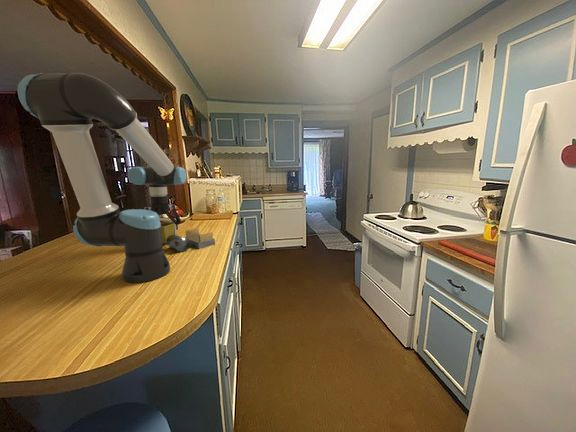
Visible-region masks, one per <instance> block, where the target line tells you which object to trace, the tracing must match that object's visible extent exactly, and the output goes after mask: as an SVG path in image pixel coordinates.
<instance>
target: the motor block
mask: <svg viewBox="0 0 576 432" xmlns="http://www.w3.org/2000/svg"><path fill="white" fill-rule="evenodd" d="M199 231H200V230H199V228H198V227H196V228H193V229H191V228H190V229H186V230H185V231H184V235H185V237H182V236H180V235H178V234H177V235H170V236H169V237H168V238H167V240H166V243H165V244H166V246H168V247H169V248H171V249H173V250H175V251H177V252H180V253H183V252H186V251H188V250H189V249H190V248H195V249H197V250H200V249H204V248H208V247H211V246H215V245H216V241H215V240H216V239H215V238H214V236H213V235H214V234H213V233H214V232H212V231H211V232H207V233H206V232H205V233H202V234H201V233H200V232H199Z"/></svg>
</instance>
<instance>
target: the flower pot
mask: <svg viewBox="0 0 576 432" xmlns="http://www.w3.org/2000/svg"><path fill="white" fill-rule="evenodd" d="M160 223H161V236H162V244H166V240H167V238H168V237H169V236H170V235H174V226H175V223H173V222H172V223H170V222H169V223H168V222H160Z"/></svg>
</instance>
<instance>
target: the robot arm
mask: <svg viewBox="0 0 576 432" xmlns="http://www.w3.org/2000/svg"><path fill="white" fill-rule="evenodd" d="M17 95H18V100H19V101H20V104H21V106H22V107H23V109H24V110H26V112H29V113H30V115H31V116H33V117H35V118H37V119H39V121H40V124H41V126H42V127H43V128H45V129H46V130H48V131H49V132H50V133H51V134H52V137H53V139H54V141H55V145H56V147H57V149H58V152H59V155H60V158H61V160H62V163H63V165H64V168H65V171H66V173H67V176H68V179H69V181H70V185H71V187H72V190H73V191H74V195H75V197H76V200H77V202H78V205H79V210H78V211H77V212H76V216H77V217H76V219H75V220H74V225H72V227H73V228H72V231H73V233H74V236H75V238H76V239H77V240H78V241H79V242H81V243H82V244H84V245H87V246H92V247H123V249H124V255H125V258H124V263H123V266H122V270H121V277H122V280H123V281H124V282H126V283H131V284H133V283H134V284H136V283H138V284H139V283H144V282H145V283H146V282H151V281H155V280H157V279H160V278H162V277H164V276H166V275H168V274H169V272H171V265H170V261H169V259H168V257H167V255H166V254H165V251H164V247H163V243H162V236H161V223H162V222H161V220H160V216H161V215H165V216H167V217H168V219H170V221H171V222H172V223H175V226H174V235H178V234H177V233H178V232H177V231H178V229H179V226H178V225H179V224H180V223H181V222H182V219H181V217H180V215H179V214H178V212H177V209H176V204H169V198H168V186H167V185H174V186H176V185H184V184H185V183H186V181H187V172H186V170H185V168H183V167H181V166H176V165H174V163H173V162H172V161H171V159H170V158H169V157H168V156H167V154H166V152H164V151H163V149H162V148H161V147H160V146H159V144H158V143H157V142H156V140H154V138H153V137H152V135H151V134H150V133H149V131H148V130H147V129H146V127H145V126H144V125H143V124H142V123H141V121H140V120H139V119H138V114H137V111H136V110H135V109H134V108H133V106H132V105H131V104H130V102H129V101H128V100H127V99H126V98H125V97H124V96H123V95H121V93H119V92H118V91H117V90H116V89H115V88H113V87H112V86H110V85H109V84H108V83H106V82H104V81H103V80H101V79H99V78H97V77H95V76H93V75H90V74H87V73H83V72H69V73H68V72H65V73H64V72H62V73H61V72H55V73H54V72H39V73H36V74H29V75H25V76H24V77H23V78H22V79H21V81H19V83H18V85H17ZM92 120H96V121H97V120H98V121H100V122H101V123H103V124H104V125H105V126H106V128H108V129H109V130H112V131H116V133H117V134H119V136H120V137H121V138H122V139H123V140H124V141H125V142H126V143H127V144H128V145H129V146H130V147H131V148H132V149H133V150H134V151H135V153H137V154H138V156H139V157H140V158H142V160H143V161H144V162H145V163H146V166H132V167H130V168H129V169H128V171H127V178H128V180H129V182H130V183H132V184H134V185H138V186H139V185H140V186H141V185H142V186H143V185H148V187H149V195H150V197H149V199H150V206H149V207H148V206H144V207H143V209H141V208H139V209H137V208H136V209H135V208H132V209H125V210H122V211H121V210H120V208H119V205H118V204H115V203H113V202H112V198H111V196H110V192H109V190H108V189H109V188H108V186H107V183H106V180H105V178H104V175H103V171H102V168H101V165H100V162H99V157H98V156H97V155H98V154H97V153H96V150H95V146H94V143H93V139H92V137H91V134H90V129H92V128H93V126H94V123H93V121H92ZM169 209H170V211H171V213H172V214H173V215H172V214H171V213H170V211H169ZM159 215H160V216H159Z"/></svg>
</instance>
